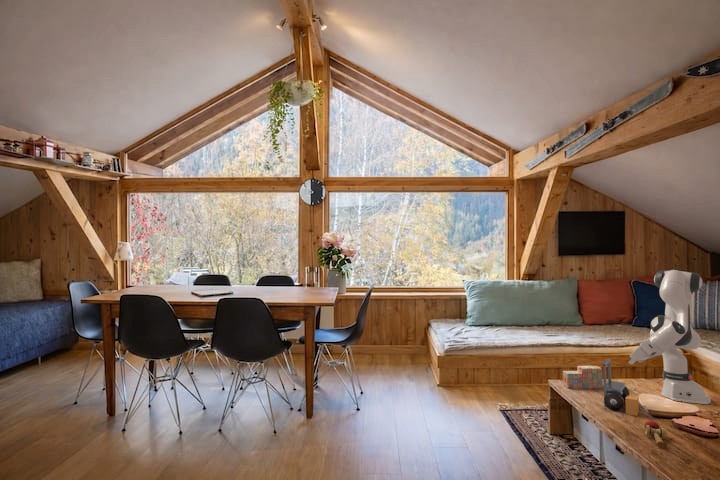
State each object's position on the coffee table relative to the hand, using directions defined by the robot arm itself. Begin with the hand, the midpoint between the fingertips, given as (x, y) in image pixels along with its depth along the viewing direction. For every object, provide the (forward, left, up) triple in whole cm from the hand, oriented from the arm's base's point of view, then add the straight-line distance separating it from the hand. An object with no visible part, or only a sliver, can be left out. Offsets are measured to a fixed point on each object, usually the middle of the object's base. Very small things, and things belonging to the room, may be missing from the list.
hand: (634, 362), depth 231 cm
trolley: (+10, -5, -26) cm, 28 cm away
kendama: (-12, +32, -26) cm, 43 cm away
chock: (+1, +4, -26) cm, 26 cm away
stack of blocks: (+32, -28, -26) cm, 50 cm away
